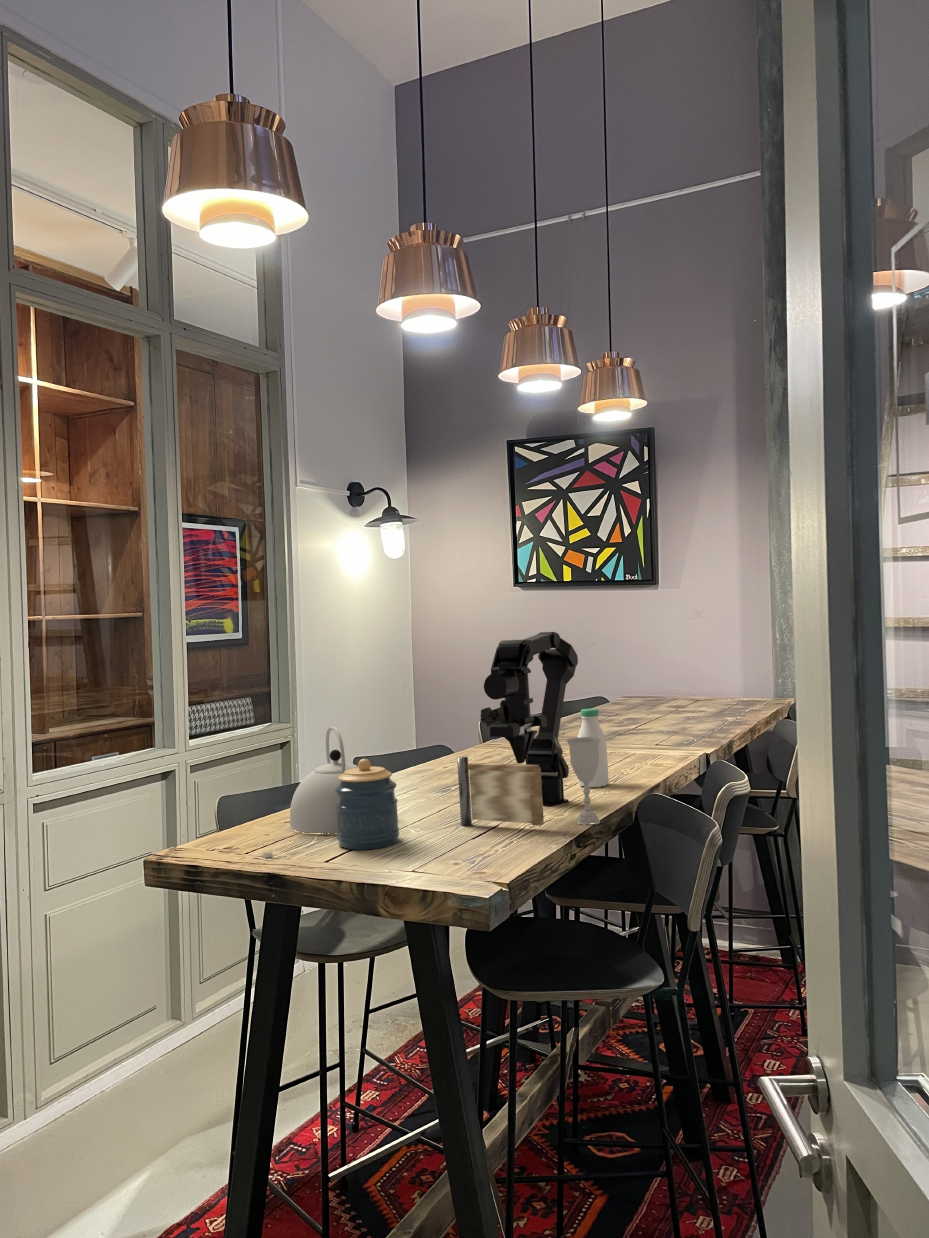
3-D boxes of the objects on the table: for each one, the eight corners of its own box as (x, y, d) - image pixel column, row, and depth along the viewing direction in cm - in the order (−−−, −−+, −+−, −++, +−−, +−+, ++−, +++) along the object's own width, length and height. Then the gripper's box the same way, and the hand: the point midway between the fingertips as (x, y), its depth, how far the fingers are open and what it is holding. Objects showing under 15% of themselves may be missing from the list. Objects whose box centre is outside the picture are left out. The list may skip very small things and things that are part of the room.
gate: (471, 820, 201) (467, 764, 201) (475, 818, 202) (472, 762, 202) (539, 825, 192) (536, 766, 192) (543, 823, 194) (540, 764, 194)
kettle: (281, 818, 221) (275, 725, 221) (372, 806, 229) (366, 717, 229) (299, 840, 198) (292, 736, 198) (399, 826, 206) (393, 726, 206)
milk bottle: (613, 783, 239) (609, 707, 239) (601, 789, 233) (596, 711, 233) (586, 782, 244) (582, 707, 244) (574, 787, 237) (569, 710, 237)
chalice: (608, 818, 200) (603, 737, 200) (602, 826, 193) (597, 741, 193) (575, 818, 202) (570, 737, 202) (568, 825, 196) (563, 742, 196)
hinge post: (467, 823, 204) (463, 756, 204) (474, 824, 202) (469, 757, 202) (458, 824, 203) (454, 757, 203) (465, 826, 201) (461, 758, 201)
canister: (347, 854, 183) (342, 766, 183) (330, 841, 195) (325, 758, 195) (408, 844, 188) (403, 758, 188) (388, 832, 200) (383, 751, 200)
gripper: (504, 691, 220) (507, 755, 220) (465, 699, 204) (470, 769, 204) (546, 690, 214) (550, 756, 215) (510, 699, 198) (514, 770, 198)
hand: (520, 763), depth 208 cm, fingers closed
